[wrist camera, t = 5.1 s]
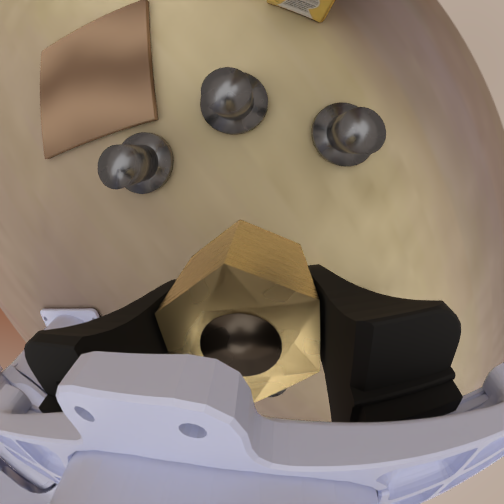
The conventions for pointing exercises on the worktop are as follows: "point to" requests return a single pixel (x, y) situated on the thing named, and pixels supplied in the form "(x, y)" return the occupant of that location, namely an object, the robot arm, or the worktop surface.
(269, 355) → the brass nut
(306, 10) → the candy box
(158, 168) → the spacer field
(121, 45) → the board
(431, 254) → the worktop surface
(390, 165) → the worktop surface
